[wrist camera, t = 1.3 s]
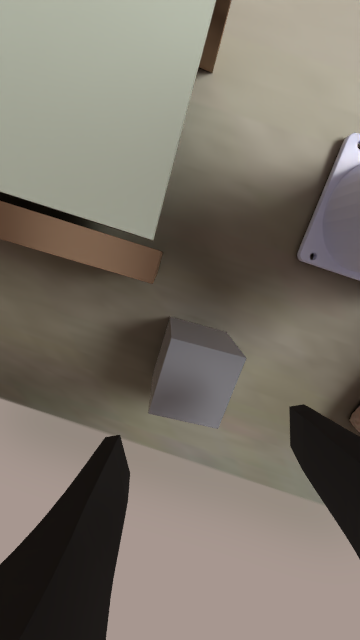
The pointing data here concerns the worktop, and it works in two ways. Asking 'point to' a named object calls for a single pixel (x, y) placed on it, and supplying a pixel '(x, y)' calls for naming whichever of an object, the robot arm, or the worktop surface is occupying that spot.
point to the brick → (356, 419)
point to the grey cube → (195, 373)
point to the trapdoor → (97, 103)
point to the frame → (89, 243)
